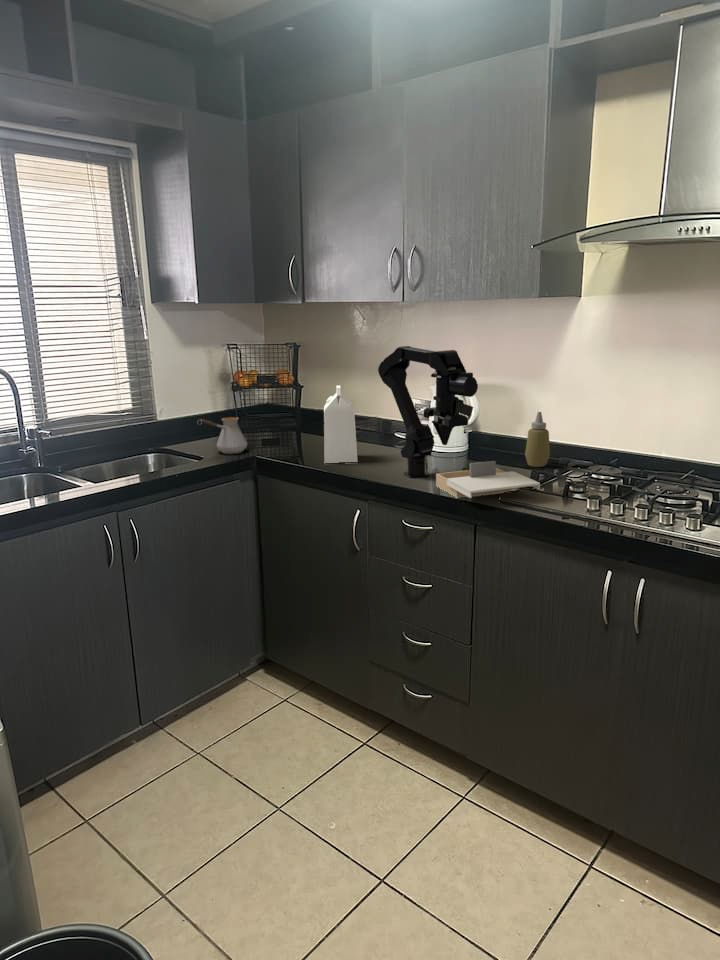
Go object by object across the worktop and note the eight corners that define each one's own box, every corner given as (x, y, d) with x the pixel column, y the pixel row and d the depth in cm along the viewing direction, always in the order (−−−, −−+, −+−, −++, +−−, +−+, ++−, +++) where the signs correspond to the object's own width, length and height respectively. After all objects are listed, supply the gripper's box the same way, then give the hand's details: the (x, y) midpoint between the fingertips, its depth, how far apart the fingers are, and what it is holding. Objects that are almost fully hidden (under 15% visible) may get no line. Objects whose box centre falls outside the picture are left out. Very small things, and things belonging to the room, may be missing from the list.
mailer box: (436, 486, 207) (436, 473, 206) (494, 479, 213) (495, 467, 212) (456, 498, 194) (457, 484, 193) (518, 491, 200) (519, 477, 199)
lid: (446, 485, 198) (447, 465, 197) (512, 477, 205) (513, 458, 203) (470, 498, 185) (470, 476, 183) (539, 489, 191) (540, 468, 190)
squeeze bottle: (543, 462, 235) (546, 409, 230) (553, 467, 227) (556, 413, 222) (520, 463, 233) (522, 410, 229) (530, 468, 226) (532, 414, 221)
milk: (357, 463, 239) (355, 388, 233) (324, 464, 239) (321, 389, 232) (355, 455, 251) (354, 384, 244) (324, 456, 250) (321, 384, 244)
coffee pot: (232, 447, 269) (229, 409, 265) (254, 450, 262) (251, 411, 259) (190, 458, 252) (187, 418, 248) (213, 462, 245) (209, 420, 242)
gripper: (485, 395, 198) (483, 448, 202) (455, 387, 215) (454, 436, 219) (450, 398, 195) (449, 452, 199) (423, 390, 212) (422, 439, 216)
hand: (444, 444), depth 208 cm, fingers closed
